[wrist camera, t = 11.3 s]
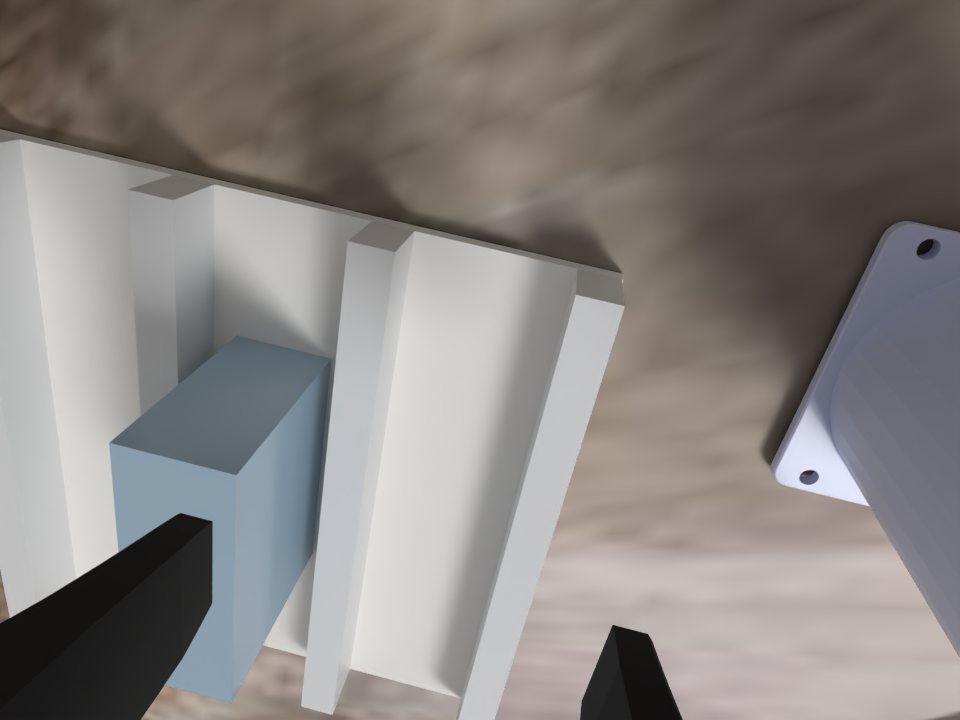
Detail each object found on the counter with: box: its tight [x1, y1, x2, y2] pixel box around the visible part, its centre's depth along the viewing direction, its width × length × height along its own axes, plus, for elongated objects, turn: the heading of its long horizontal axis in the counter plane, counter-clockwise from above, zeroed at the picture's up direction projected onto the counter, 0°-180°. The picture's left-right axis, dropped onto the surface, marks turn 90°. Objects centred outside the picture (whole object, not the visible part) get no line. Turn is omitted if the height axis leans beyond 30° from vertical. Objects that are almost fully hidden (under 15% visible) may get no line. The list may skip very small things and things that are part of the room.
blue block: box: [109, 336, 331, 703], centre depth 19 cm, size 3×8×6 cm, turn 169°
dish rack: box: [0, 129, 625, 720], centre depth 21 cm, size 18×18×2 cm
